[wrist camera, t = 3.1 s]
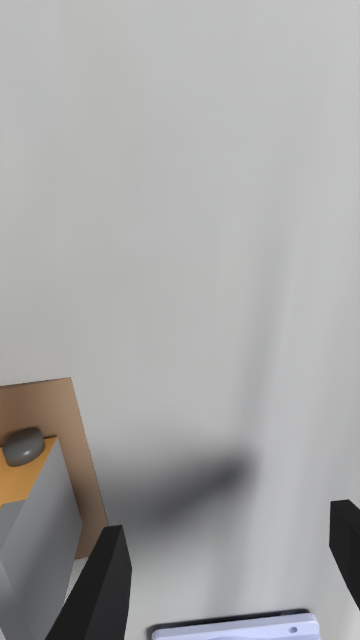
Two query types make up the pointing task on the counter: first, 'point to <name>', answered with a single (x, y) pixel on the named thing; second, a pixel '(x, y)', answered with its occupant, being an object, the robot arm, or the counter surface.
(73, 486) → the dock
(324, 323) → the counter surface
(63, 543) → the orange block with knobs
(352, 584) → the robot arm
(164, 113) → the counter surface
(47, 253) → the counter surface
